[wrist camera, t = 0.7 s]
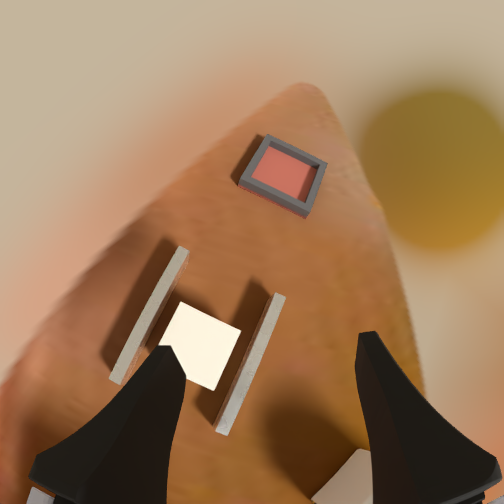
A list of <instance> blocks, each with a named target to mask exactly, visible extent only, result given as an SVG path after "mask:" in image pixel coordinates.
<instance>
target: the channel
mask: <svg viewBox="0 0 504 504" xmlns="http://www.w3.org/2000/svg"><path fill="white" fill-rule="evenodd" d="M189 252H190V251H189V250H187V249H185V248H183V247H181V246H179V247H178V249H177V250H176V252H175V254H174V255H173V257H172V259H171V261H170V262H169V264H168V266H167V268H166V269H165V271H164V273H163V275H162V277H161V278H160V280H159V282H158V284H157V286H156V287H155V289H154V291H153V293H152V295H151V297H150V298H149V300H148V302H147V304H146V306H145V308H144V310H143V311H142V313H141V315H140V317H139V319H138V321H137V323H136V325H135V327H134V329H133V330H132V332H131V334H130V336H129V338H128V340H127V342H126V344H125V346H124V348H123V350H122V352H121V354H120V356H119V358H118V360H117V362H116V364H115V366H114V368H113V371H112V373H111V375H110V377H109V379H110V380H112V381H113V382H115V383H117V384H119V385H125V384H126V383H127V381H128V379H129V377H130V375H131V372H132V370H133V368H134V366H135V364H136V362H137V360H138V358H139V356H140V354H141V352H142V350H143V348H144V346H145V344H146V342H147V340H148V338H149V336H150V334H151V332H152V330H153V328H154V326H155V324H156V322H157V320H158V319H159V317H160V315H161V313H162V311H163V309H164V307H165V305H166V303H167V301H168V299H169V298H170V296H171V294H172V292H173V290H174V288H175V286H176V284H177V283H178V281H179V279H180V277H181V275H182V273H183V271H184V270H185V268H186V266H187V264H188V262H189ZM285 299H286V297H284V296H282V295H280V294H278V293H276V292H275V293H274V294H273V295H272V296H271V297H270V298H269V299H268V300H267V303H266V305H265V307H264V310H263V312H262V315H261V317H260V319H259V322H258V324H257V326H256V329H255V331H254V333H253V336H252V338H251V340H250V343H249V345H248V347H247V350H246V352H245V354H244V357H243V359H242V361H241V363H240V366H239V368H238V370H237V373H236V375H235V377H234V379H233V382H232V384H231V386H230V388H229V391H228V393H227V395H226V397H225V399H224V402H223V404H222V406H221V408H220V410H219V413H218V415H217V417H216V419H215V421H214V423H213V428H214V430H215V431H216V432H219V433H221V434H224V435H226V436H227V435H228V433H229V431H230V429H231V427H232V425H233V422H234V420H235V418H236V416H237V413H238V411H239V409H240V407H241V405H242V402H243V400H244V398H245V395H246V393H247V391H248V389H249V386H250V384H251V382H252V379H253V377H254V375H255V372H256V370H257V368H258V365H259V363H260V361H261V358H262V356H263V353H264V351H265V349H266V346H267V344H268V341H269V339H270V336H271V334H272V331H273V329H274V326H275V324H276V321H277V319H278V316H279V314H280V311H281V309H282V306H283V304H284V301H285Z"/></svg>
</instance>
